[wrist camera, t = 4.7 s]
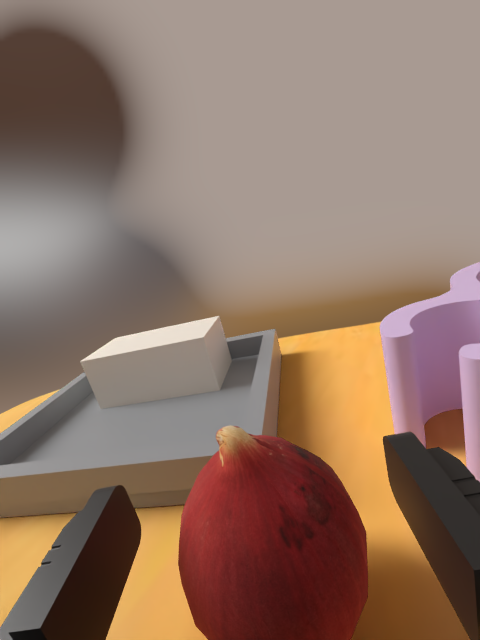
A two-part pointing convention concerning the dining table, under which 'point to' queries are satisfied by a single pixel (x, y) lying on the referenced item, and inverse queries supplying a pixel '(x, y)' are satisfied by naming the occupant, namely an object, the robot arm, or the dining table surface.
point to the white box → (159, 364)
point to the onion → (271, 544)
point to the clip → (437, 361)
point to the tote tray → (134, 437)
